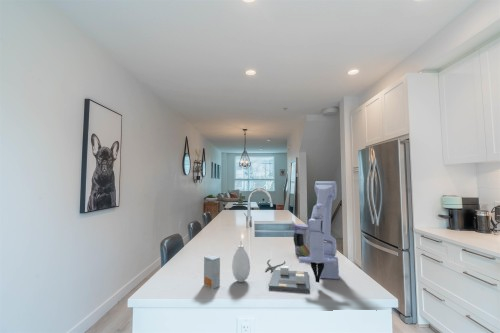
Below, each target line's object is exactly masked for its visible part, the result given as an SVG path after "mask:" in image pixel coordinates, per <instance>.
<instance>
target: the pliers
mask: <svg viewBox="0 0 500 333" xmlns="http://www.w3.org/2000/svg"><path fill="white" fill-rule="evenodd" d="M270 261H271V259H269V260H267V262H266V263H267V265H268V266H267V267H266V268H265V271H264V272H265V273H267V272H268V271H269V270H270V274H273V270H276V268H278V267H281V266H284V265H285V264H286V261H285V260H284V261H283V263H281V264H277V265H274V266H272V265H271V264H270ZM283 264H284V265H283Z"/></svg>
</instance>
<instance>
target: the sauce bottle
mask: <svg viewBox="0 0 500 333" xmlns="http://www.w3.org/2000/svg"><path fill="white" fill-rule="evenodd" d="M231 269H232V274H233V275H232V276H233V278H235V280H236V281H237V282H239V283H244V282H245V281H246V280H247V279H248V278H249V275H250V272H251V263H250V257H249V254H248V252H247V250H246V248H245V246H244V245H242V242H240V244H239V245H238V246H237V249H236V250H235V252H234V254H233V258H232V263H231Z"/></svg>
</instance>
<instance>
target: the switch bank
mask: <svg viewBox="0 0 500 333" xmlns="http://www.w3.org/2000/svg"><path fill="white" fill-rule="evenodd" d="M296 273H298V274H304V282H305V284H297V283H296ZM268 290H270V291H271V290H272V291H285V292H286V291H287V292H299V293H310V282H309V272H308V271H297V270H289V273H288V275H281V274H280V269H275V270H273V272H272V273H271V277H270V280H269V283H268Z"/></svg>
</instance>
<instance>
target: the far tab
mask: <svg viewBox="0 0 500 333" xmlns="http://www.w3.org/2000/svg"><path fill="white" fill-rule="evenodd" d="M279 267H280V268H279V270H280V274H281V275H288V273H289V271H290V270H289V267H290V266H289V265H281V266H279Z"/></svg>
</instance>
